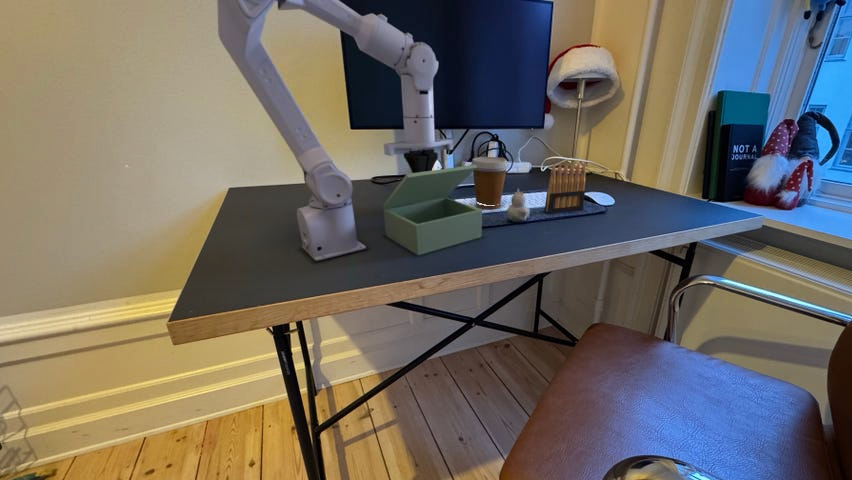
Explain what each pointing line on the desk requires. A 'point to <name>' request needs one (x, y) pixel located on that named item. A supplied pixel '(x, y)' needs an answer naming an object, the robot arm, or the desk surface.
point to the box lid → (428, 185)
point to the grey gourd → (518, 208)
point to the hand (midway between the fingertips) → (422, 188)
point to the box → (432, 224)
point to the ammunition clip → (566, 190)
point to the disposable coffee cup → (489, 180)
